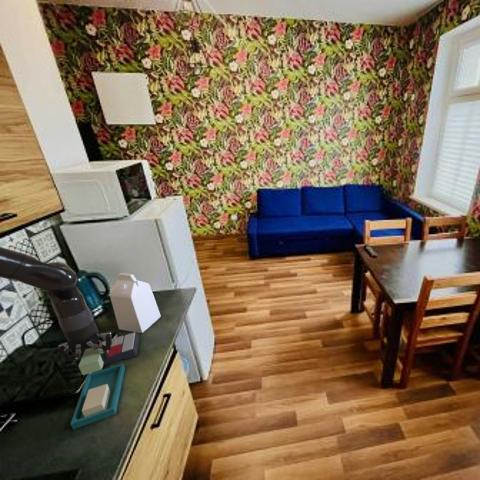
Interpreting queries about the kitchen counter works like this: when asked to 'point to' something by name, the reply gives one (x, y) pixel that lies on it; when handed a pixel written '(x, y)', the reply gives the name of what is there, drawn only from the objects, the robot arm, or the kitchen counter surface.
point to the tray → (96, 379)
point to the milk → (133, 304)
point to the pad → (96, 400)
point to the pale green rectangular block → (90, 361)
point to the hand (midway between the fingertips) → (94, 362)
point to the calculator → (122, 348)
